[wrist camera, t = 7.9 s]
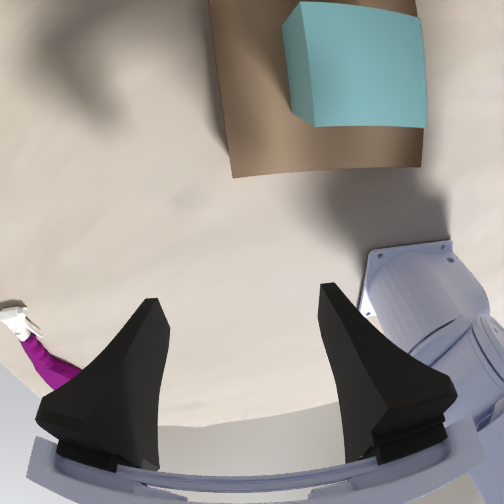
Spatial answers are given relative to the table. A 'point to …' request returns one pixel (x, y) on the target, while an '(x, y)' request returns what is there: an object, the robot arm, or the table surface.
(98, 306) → the table surface
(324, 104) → the teal cube
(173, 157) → the table surface
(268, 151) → the walnut base
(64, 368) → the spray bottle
